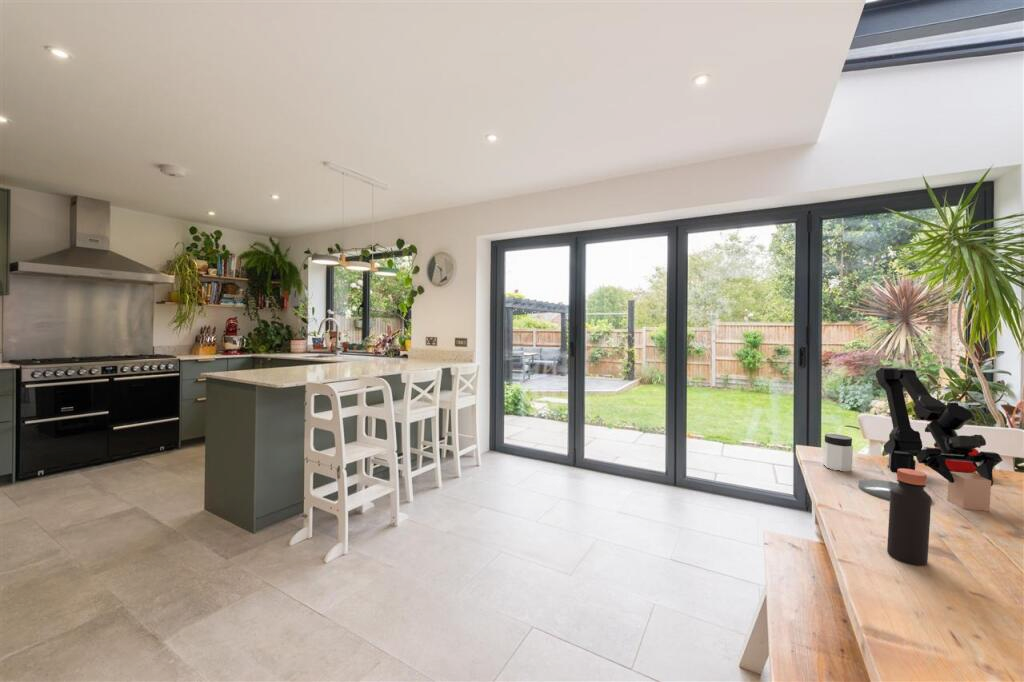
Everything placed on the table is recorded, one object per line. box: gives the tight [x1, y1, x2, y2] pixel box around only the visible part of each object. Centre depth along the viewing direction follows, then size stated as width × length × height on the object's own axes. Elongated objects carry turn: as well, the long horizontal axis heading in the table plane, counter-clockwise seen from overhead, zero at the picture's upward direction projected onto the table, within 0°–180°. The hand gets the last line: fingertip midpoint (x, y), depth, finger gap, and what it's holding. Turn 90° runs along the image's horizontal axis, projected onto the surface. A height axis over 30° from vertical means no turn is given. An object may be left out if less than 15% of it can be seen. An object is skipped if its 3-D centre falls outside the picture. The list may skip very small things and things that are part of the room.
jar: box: [821, 433, 854, 472], centre depth 158 cm, size 9×8×12 cm
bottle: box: [886, 468, 932, 566], centre depth 96 cm, size 7×7×20 cm
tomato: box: [934, 446, 980, 473], centre depth 157 cm, size 13×12×11 cm
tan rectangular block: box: [946, 471, 992, 512], centre depth 126 cm, size 6×6×9 cm
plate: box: [857, 478, 898, 501], centre depth 135 cm, size 17×17×1 cm
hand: (972, 484), depth 125 cm, fingers open, 9 cm apart
